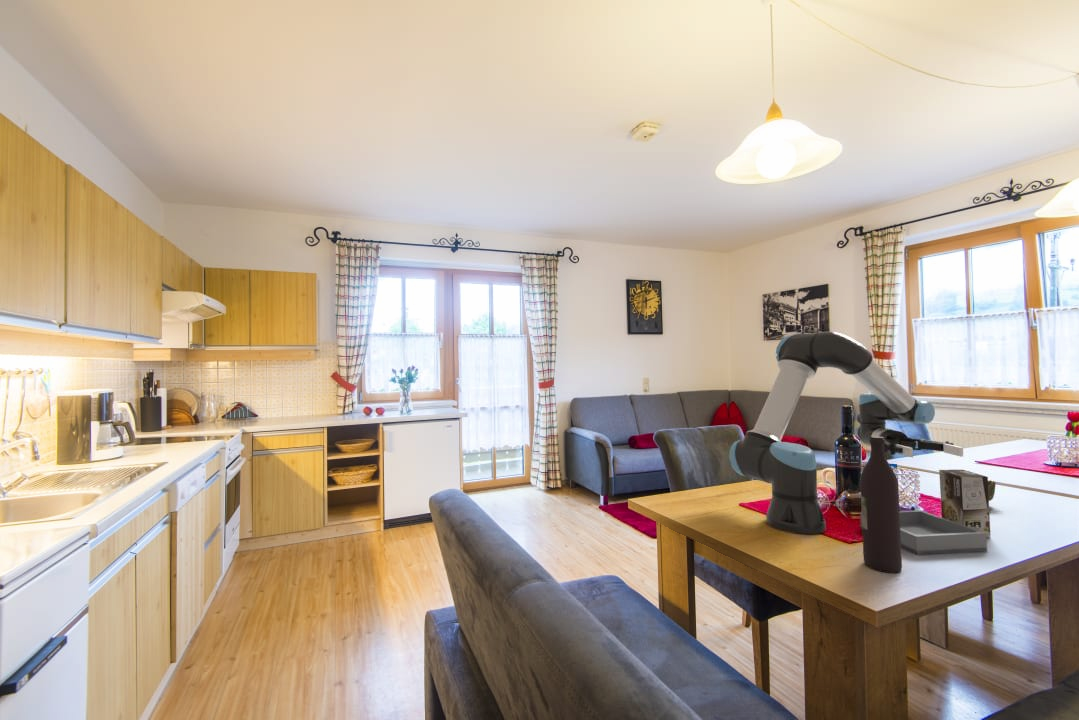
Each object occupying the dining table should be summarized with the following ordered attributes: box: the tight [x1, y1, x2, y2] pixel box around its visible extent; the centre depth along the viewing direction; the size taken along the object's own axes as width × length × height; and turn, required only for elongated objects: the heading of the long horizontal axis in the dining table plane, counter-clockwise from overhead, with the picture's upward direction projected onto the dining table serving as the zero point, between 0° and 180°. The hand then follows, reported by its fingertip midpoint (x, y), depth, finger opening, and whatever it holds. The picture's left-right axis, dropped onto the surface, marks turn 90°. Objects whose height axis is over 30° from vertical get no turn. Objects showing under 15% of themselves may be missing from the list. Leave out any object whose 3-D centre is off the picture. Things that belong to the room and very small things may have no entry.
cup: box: [988, 480, 996, 502], centre depth 145 cm, size 8×7×8 cm
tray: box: [859, 509, 988, 556], centre depth 119 cm, size 18×18×4 cm
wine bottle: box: [860, 436, 903, 574], centre depth 104 cm, size 7×7×30 cm
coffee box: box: [938, 469, 991, 538], centre depth 124 cm, size 9×6×16 cm
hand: (936, 452), depth 134 cm, fingers open, 13 cm apart
